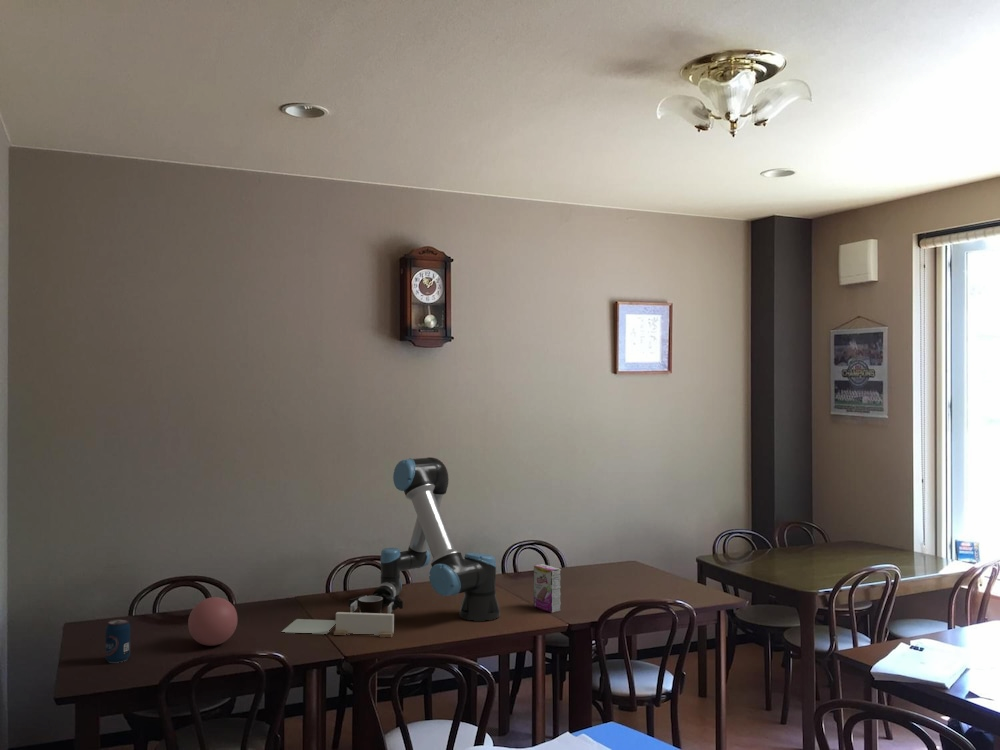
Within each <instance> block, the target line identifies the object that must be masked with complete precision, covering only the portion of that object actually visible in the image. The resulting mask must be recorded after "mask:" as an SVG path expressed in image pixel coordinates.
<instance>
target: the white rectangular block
mask: <svg viewBox="0 0 1000 750" xmlns="http://www.w3.org/2000/svg"><path fill="white" fill-rule="evenodd" d="M335 620H336V625H335V631H334V632H333V636H334V635H346V634H347V635H349V634H348V633H353V634H374V635H373V636H379V635H380V636H379V638H385V637H391V638H392V637H393V636H394V635H393V634H395V632H394V631H395V614H394V613H390V614H388V613H383V612H381V613H360V612H353V613H351V612H345V611H337V612H336V613H335ZM347 635H346V636H347Z"/></svg>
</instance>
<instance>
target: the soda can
mask: <svg viewBox="0 0 1000 750" xmlns="http://www.w3.org/2000/svg"><path fill="white" fill-rule="evenodd" d="M104 653H105V656H104V658H105V660H106V661H107V662H108V663H109V664H120V663H119V662H121V663H124V662H126V661H128V660H129V658H130V656H131V624H130V621H129V619H127V618H116V619H112V620H109V621H108V622H107V625H106V627H105V652H104ZM123 661H124V662H123Z"/></svg>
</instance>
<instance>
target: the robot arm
mask: <svg viewBox="0 0 1000 750" xmlns="http://www.w3.org/2000/svg"><path fill="white" fill-rule="evenodd" d="M392 478H393V480H392V481H393V484H394V486H395V488H396V489H397V490H398V491H401V492H403V493H404V495H405V498H406V499H408V500H409V501H411V503H412V505H413V508H414V510H415V513H416V515H417V516H416V519H415V523H414V528H413V531H412V533H411V534H412V535H411V537H410V538H411V539H410V541H409V544H408V545H409V546H408V548H407V550H403V551H401V549H399V548H397V547H386V548H383V549H382V550H381V552H380V553H381V554H380V585H379V586H377V588H375V589H374V591H373V592H372V594H371V595H369V596H380V597H382V598H383V601H382V608H385V607H387V614H392V612H393V611H396V610H398V609H400V610H401V609H403V605H404V604H403V603H404V601H403V600H402V599H401V598H400V597H399V594H400V593H401V590H402V588H403V586H402V580H401V579H400V578H401V572H403V571H409V570H414V569H420V568H424V567H426V566H428V565H429V564H430V566H431V568H430V571H429V578H428V579H429V582H430V584H431V585H430V586H431V587H432V589H433V590H434V592H435V593H437V594H439V595H441V596H443V597H449V596H455V595H458V594H462V593H464V597H463V599H462V601H461V606H460V608H459V617H460V618H461V619H463V620H466V619H467V620H466V621H470V620H474V621H473V622H486V621H485V620H489V621H493V620H492V619H494V620H497V619H499V618H500V617H499V616H501V609H500V605H499V602H498V598H497V596H496V595H497V594H496V584H497V583H496V581H497V580H496V579H497V574H496V573H497V564H496V561H497V560H496V558H495V556H493V555H491V554H486V553H480V552H479V553H477V552H467V553H465V555H464V557H463V556H462V553H461V551H459V550H457V549H455V545H454V544H453V541H452V538H451V536H450V533H449V530H448V528H447V526H446V523H445V521H444V517H443V514H442V512H441V509H440V505H441V502H442V499H443V496H445V495H446V494H447V490H448V487H449V472H448V469H447V467H446V465H445V464H444V463H443V462H442V461H441V460H440V459H438V458H436V457H429V456H428V457H420V458H410V457H409V458H407V459H402V460H400V461H399V462H397V464H396V465H395V467H394V470H393V476H392ZM428 549H429V550H428ZM431 557H432V559H431ZM431 560H432V561H431ZM430 561H431V563H430ZM364 596H367V594H366V593H364V594H362V595H359V596H356V597H352V598H349V599H348V600H347V601H348V608H349V609H350V612H351V613H355V611H356V610H357V609H358V608H359V601H358V599H359V598H360V597H364ZM498 617H499V618H498ZM496 618H497V619H496Z"/></svg>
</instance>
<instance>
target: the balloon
mask: <svg viewBox="0 0 1000 750" xmlns="http://www.w3.org/2000/svg"><path fill="white" fill-rule="evenodd" d="M237 612H238V611H237V609H236V608H235V606H234V605H233V604H232V603H231V602H230V601H229V600H228V599H225V598H223V597H220V596H219V597H218V596H213V597H211V596H210V597H208V598H207V597H206V598H205V599H203V600H201V601H198V603H196V605H195V606H194V607H193V608H192V609H191V611H190V614H189V616H188V620H187V621H188V622H187V627H188V631H189V634H190V636H191V637H192V639H194V641H196V642H197V643H199V644H200V645H203V646H209V647H214V646H218V645H221V644H223V643H224V642H227V641H228V640H229V639H230V638H231V637H232V636H233V635H234V633H235V631H236V630H237V626H238V619H239V618H238V613H237Z"/></svg>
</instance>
